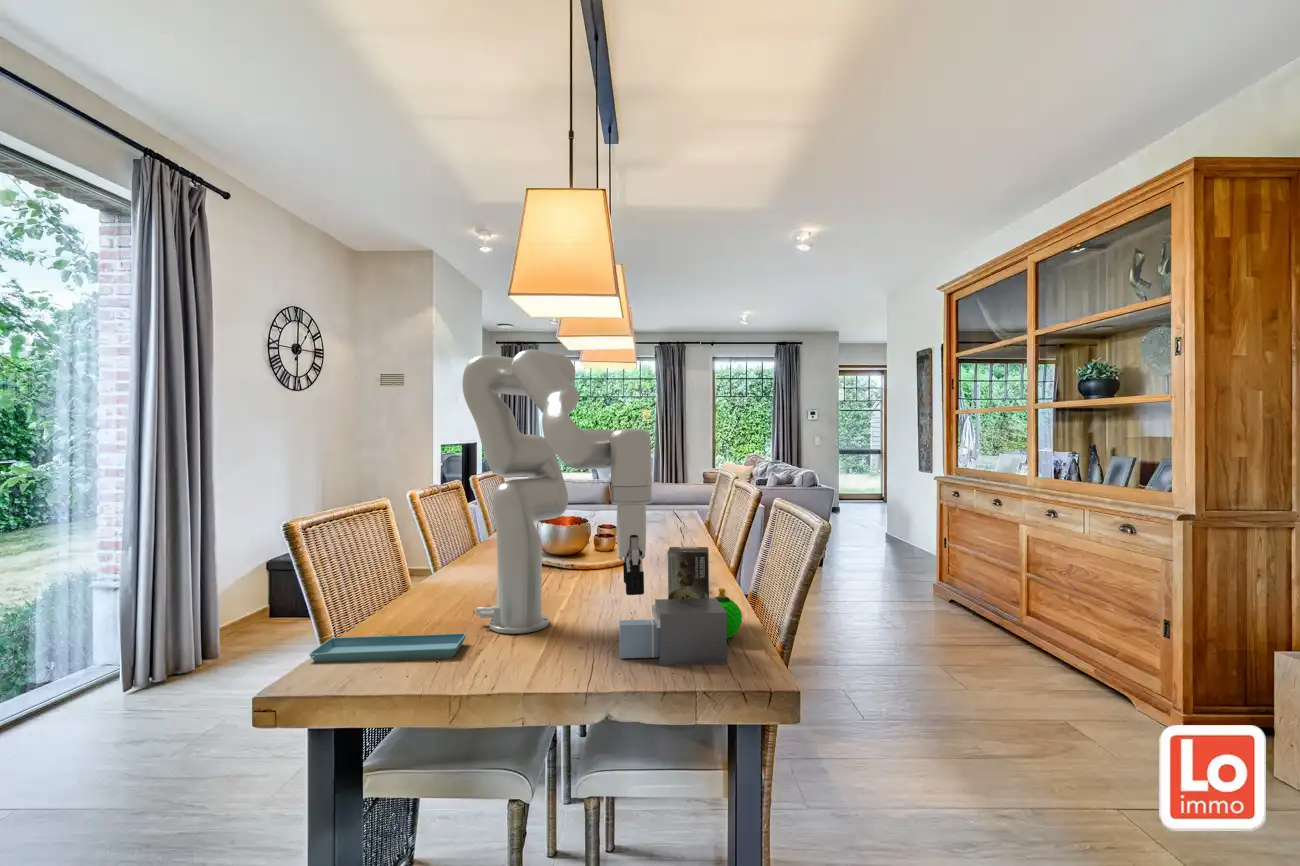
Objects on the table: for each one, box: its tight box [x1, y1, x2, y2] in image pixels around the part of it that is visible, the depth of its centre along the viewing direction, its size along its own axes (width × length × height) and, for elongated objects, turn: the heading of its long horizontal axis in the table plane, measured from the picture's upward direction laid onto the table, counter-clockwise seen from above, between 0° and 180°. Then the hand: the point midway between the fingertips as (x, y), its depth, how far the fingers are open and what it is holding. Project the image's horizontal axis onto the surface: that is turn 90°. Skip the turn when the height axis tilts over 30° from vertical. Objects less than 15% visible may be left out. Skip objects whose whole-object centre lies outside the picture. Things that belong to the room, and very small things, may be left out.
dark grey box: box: [651, 597, 728, 667], centre depth 114 cm, size 13×10×9 cm
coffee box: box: [667, 546, 710, 599], centre depth 135 cm, size 9×6×16 cm
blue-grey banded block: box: [619, 619, 659, 659], centre depth 114 cm, size 14×3×6 cm, turn 95°
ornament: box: [714, 587, 743, 640], centre depth 124 cm, size 8×8×10 cm
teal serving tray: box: [309, 633, 467, 663], centre depth 116 cm, size 26×9×2 cm, turn 94°
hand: (633, 588), depth 113 cm, fingers open, 9 cm apart
